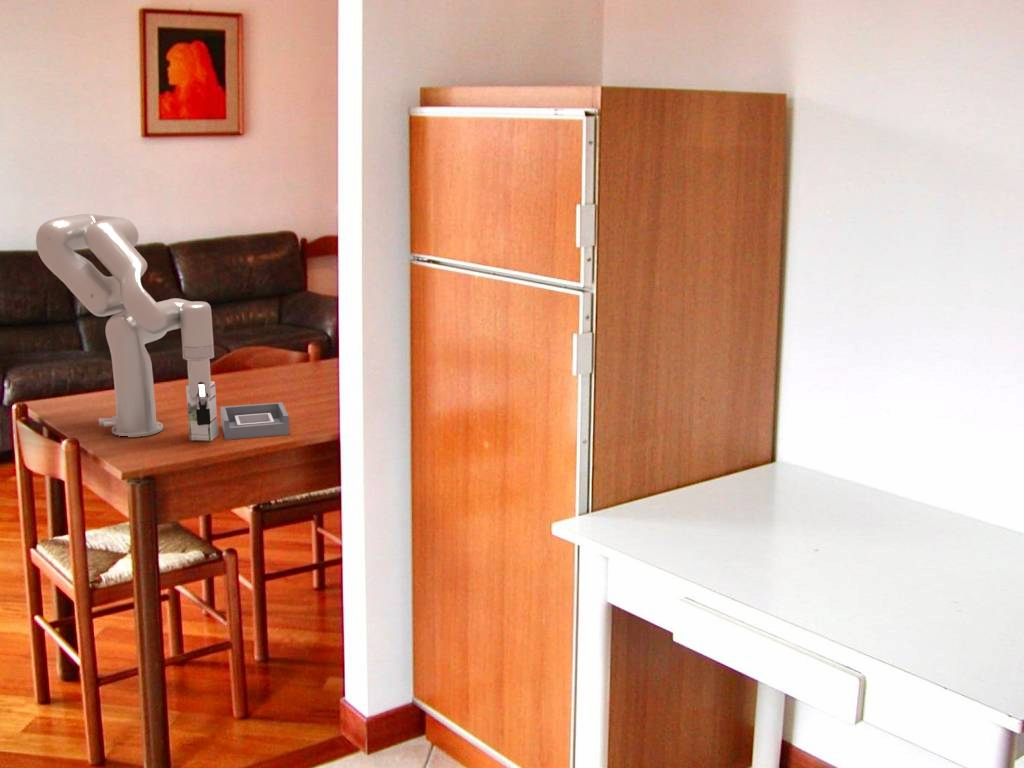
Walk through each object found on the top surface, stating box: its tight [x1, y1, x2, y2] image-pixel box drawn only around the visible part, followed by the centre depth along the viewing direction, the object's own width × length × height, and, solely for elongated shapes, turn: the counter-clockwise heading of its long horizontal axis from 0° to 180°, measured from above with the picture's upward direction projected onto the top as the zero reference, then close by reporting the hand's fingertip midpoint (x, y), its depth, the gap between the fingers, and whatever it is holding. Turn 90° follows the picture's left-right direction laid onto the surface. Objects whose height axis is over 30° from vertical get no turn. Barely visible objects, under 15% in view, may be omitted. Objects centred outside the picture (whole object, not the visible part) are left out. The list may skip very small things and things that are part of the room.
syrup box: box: [185, 381, 219, 442], centre depth 296 cm, size 6×6×14 cm
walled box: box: [219, 401, 290, 441], centre depth 305 cm, size 16×14×5 cm
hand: (203, 419), depth 297 cm, fingers closed on syrup box, 7 cm apart
